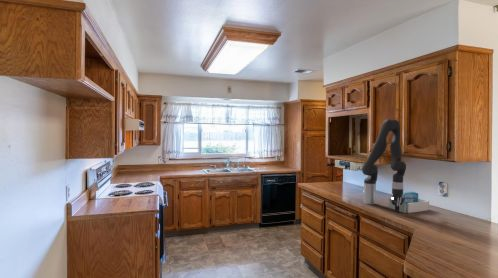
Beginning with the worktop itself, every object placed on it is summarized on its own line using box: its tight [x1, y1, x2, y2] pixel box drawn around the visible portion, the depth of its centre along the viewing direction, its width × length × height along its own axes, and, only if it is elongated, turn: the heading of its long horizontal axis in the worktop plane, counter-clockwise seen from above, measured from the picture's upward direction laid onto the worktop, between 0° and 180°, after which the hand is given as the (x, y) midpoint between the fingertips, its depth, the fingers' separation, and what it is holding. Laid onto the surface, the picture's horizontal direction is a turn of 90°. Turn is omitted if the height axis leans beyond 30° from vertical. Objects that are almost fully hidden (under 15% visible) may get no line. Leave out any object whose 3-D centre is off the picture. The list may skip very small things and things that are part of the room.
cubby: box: [406, 197, 430, 214], centre depth 229 cm, size 15×22×7 cm
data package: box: [402, 191, 419, 208], centre depth 228 cm, size 12×4×12 cm, turn 95°
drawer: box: [388, 198, 407, 214], centre depth 227 cm, size 15×23×7 cm, turn 111°
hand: (396, 210), depth 218 cm, fingers closed
